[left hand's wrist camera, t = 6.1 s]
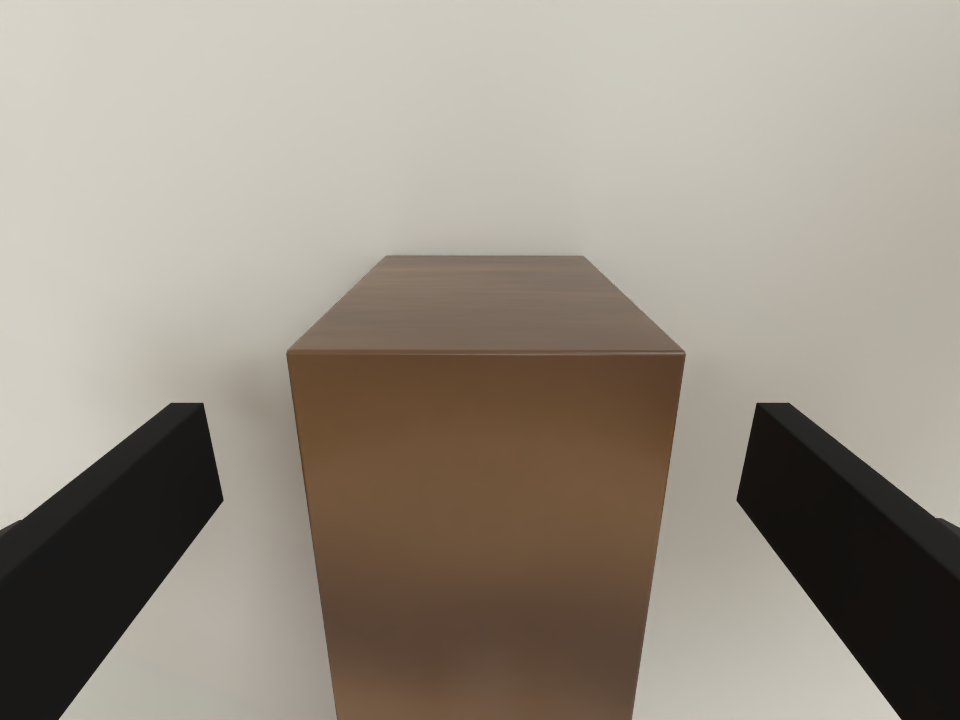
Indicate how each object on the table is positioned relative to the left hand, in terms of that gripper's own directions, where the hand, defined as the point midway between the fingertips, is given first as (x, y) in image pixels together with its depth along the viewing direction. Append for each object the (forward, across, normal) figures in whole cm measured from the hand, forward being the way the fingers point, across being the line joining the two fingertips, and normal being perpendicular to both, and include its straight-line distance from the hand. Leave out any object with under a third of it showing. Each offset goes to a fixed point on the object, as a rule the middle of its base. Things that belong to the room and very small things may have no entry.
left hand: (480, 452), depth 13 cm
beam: (+4, 0, -24) cm, 25 cm away
